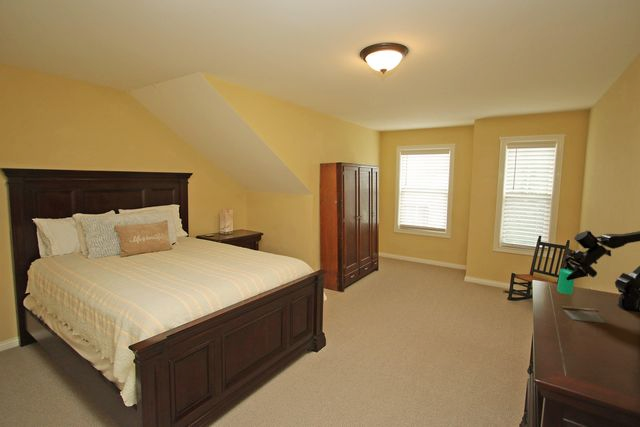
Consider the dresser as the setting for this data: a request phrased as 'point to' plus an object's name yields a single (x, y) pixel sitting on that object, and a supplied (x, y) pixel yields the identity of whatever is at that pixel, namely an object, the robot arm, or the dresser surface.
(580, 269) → the robot arm
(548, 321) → the dresser surface
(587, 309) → the line strip
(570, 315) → the mat
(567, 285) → the candle
